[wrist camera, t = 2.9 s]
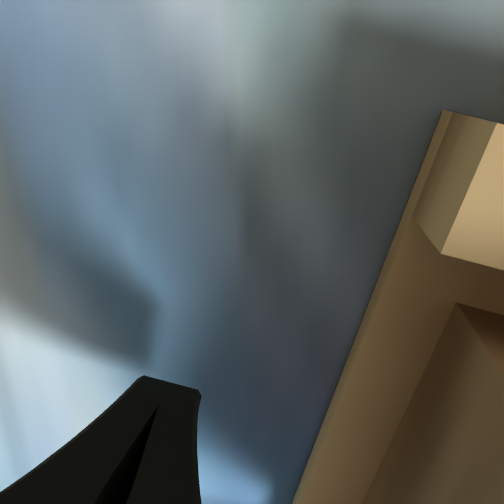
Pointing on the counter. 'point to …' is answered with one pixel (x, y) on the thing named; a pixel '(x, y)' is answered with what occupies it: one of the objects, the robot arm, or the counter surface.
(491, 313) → the crate
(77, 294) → the counter surface
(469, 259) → the wooden base
